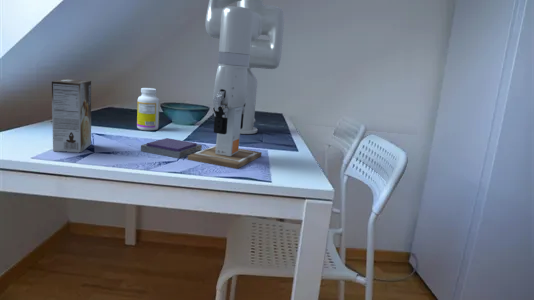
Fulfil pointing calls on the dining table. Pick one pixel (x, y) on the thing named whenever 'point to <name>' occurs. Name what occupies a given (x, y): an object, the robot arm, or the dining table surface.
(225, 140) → the skincare box
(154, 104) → the supplement bottle
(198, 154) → the wooden tray
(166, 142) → the ink pad
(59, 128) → the coffee box
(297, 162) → the dining table surface
